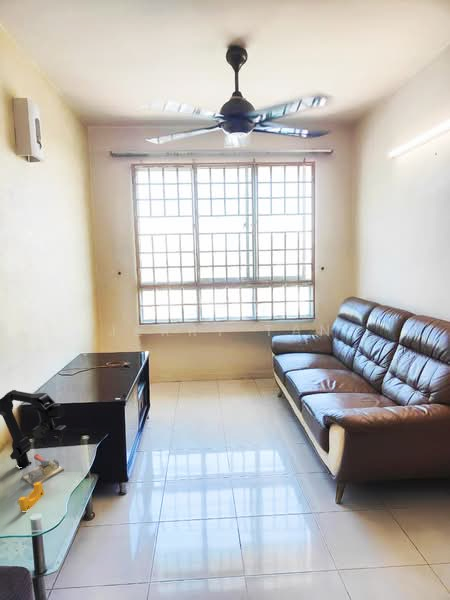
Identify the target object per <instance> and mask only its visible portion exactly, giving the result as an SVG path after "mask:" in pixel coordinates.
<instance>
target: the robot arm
mask: <svg viewBox="0 0 450 600" xmlns="http://www.w3.org/2000/svg"><path fill="white" fill-rule="evenodd" d="M13 401H16V402H22V403H27V404H30V405H31V406H32V407H34V408H35V409H34V412H37V414H38V416H39V421H38V425H36V426H35V427H34V428H33V429H31V431H30V433H31V436H33V437H34V439H39V440H40V441H41V443H42V444H43V445H44V446H47V445H48V444H47V443H48V440H47V435H48V433H52V434H53V437H55V439H56V441H57V442H56V443H57V444H58V446H61V445H62V441H63V438H64V433H66V432H67V431H68V427H67V425H64V424H63V425H61V424H60V425H58V426H57V424H56V423H54V419H59V418H63V417H64V416H65V413H66V408H64V406H61V404H60V403H57V404H56V401H54V399H53V398H51V396H50V395H49V394H48V393H45V392H39V393H30V392H25V391H19V390H16V389H12V390H10V391H8V392H7V393H6V394H5V395H3V396H2V397H1V398H0V416H2V418H3V420H4V423H5V425H6V428H7V430H8V433H9V434H10V437H11V439H12V442H11V448H12V452H11V454H10V455H9V457H10V458H11V460H15V461H16V465H18V466H19V467H22V469H24V468H26V467H28V466H29V464H30V465H31V463H32V461H30V460H29V456H28V452H29V451H31V446H32V442H31V441H30V437H29V436H24V435H23V434H22V430H21V428H20V426H19V424H18V421H17V418H16V416H15V414H14V412H13V409H14V403H13ZM29 461H30V462H29ZM27 465H28V466H27ZM23 467H24V468H23ZM22 469H21V468H20V470H22Z"/></svg>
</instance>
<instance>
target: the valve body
mask: <svg viewBox="0 0 450 600" xmlns="http://www.w3.org/2000/svg"><path fill="white" fill-rule="evenodd" d="M59 466H60V462H59V460H57V459H55V458H54V459H52V462H50V464H49V465H47V466H44V467H42V465H41V464H40V465H38V467H39V469H38V470H36V471H35V472H33V473H28V472H27V473H28V476H29V480H30V481H31V482H34V481H35V480H37V479H39V478H40V477H42V476H47V475H48V474H50V473H52V472H54V471H55V469H56V468H59Z"/></svg>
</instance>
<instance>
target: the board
mask: <svg viewBox="0 0 450 600" xmlns="http://www.w3.org/2000/svg"><path fill="white" fill-rule="evenodd" d="M49 461H50V462H53V460H50V459H49ZM38 469H39V466H37V467H35V468H33V469H32V470H30V471H28V472H26V473H24V474H22V475H21V478H22V479H23V480H25V481H26V482H28V483H29V484H30V485H31V486H33V487H34V484H35V483H36V482H41V483H44V482H46V481H48V480H50V479H51V478H53V477H54V476H56V475H58V474H60V473H62V472H64V471H65V468H64V467H62V466H61V465H59V468H56V469H55V471H54V472H52V473H50V474H48V475H47V476H42V477H40V478H39V479H37V480H35V481H34V482H31V481H30V480H29V476H28V473H33V472H35V471H36V470H38Z"/></svg>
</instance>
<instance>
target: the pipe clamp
mask: <svg viewBox="0 0 450 600" xmlns="http://www.w3.org/2000/svg"><path fill="white" fill-rule="evenodd" d="M44 495H45V491H44V486H43V484H42V483H41V482H36V483H35V484H34V486H33V490H32V491H31V492H30V493H29V494H28V496H20V498H19V499H18V504H19V507H20V512H21V511H27V510H28V509H30V508H31V507H32V506H33V507H34V506H35V505H36V504H37V502H39V500H40V499H41V498H42V497H43V496H44ZM33 507H32V508H33ZM32 508H31V509H32ZM31 509H30V510H31Z"/></svg>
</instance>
